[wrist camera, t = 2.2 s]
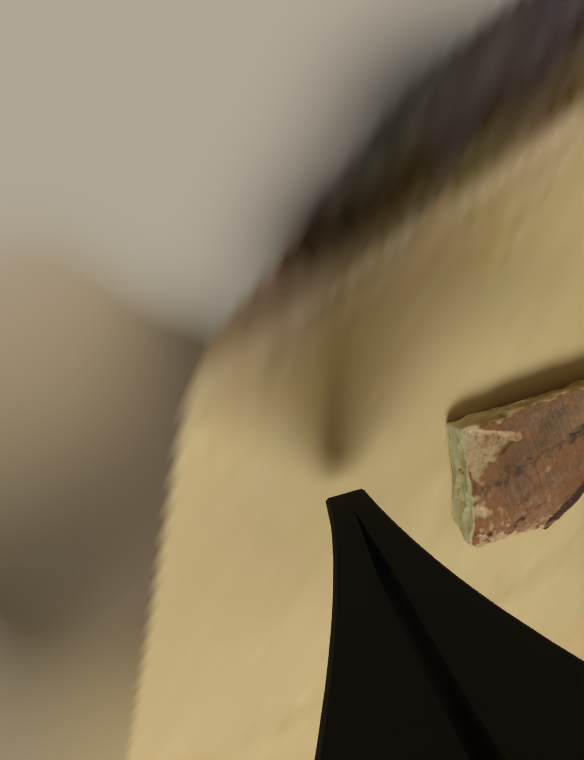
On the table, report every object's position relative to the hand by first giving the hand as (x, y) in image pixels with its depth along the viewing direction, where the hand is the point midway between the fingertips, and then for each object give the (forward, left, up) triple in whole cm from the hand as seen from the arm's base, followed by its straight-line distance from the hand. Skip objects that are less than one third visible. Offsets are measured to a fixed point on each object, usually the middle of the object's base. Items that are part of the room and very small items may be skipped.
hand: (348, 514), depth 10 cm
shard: (0, -9, -3) cm, 9 cm away
